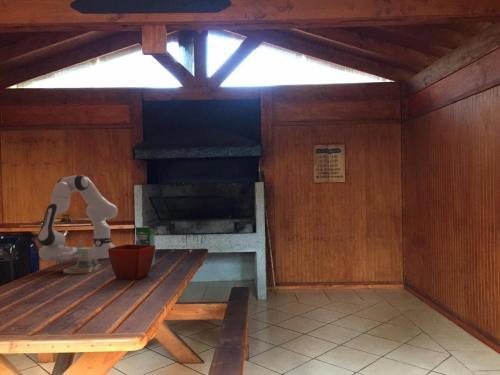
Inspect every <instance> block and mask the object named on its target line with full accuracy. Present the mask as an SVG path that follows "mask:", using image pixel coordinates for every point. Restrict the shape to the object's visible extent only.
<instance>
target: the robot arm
mask: <svg viewBox="0 0 500 375" xmlns="http://www.w3.org/2000/svg"><path fill="white" fill-rule="evenodd" d="M78 192H79V194H80V195H81V197H82V198H83V200H84V201H85V203H86V204H87V205H88V206H87V207H86V209H85V214H86V215H87V217H88V218H89V219H90V221H91V223H92V227H93V238H92V239H93V240H92V242H93V244H92V246H91V248H92V253H93V258H98V260H102V259H110V258H109V253H108V249H109V248H113V247H117V246H116V245H115V244H113V242H112V241H113V240H114V238H113V237H112V236H111V226H110V225H109V224H108V223H107V221H106V220H110V219H114V218H116V217H117V215H118V212H119V211H118V207H117V206H116V205H115V204H114V203H112V202H110V201H109V200H108V199H106V198H105V197H104V196H103V195H102V194H101V192H100V191H99V190H98V188H97V187H96V185H95V184H94V183H93V182H92V181H91V179H90V178H89V177H87V176H86V175H83V174H78V175H69V176H65V177H61V178H59V179H58V180H57V181H56V183H55V185H54V187H53V190H52V194H51V199H50V203H49V205H48V206H47V208H46V210H45V213H44V217H43V221H42V223H41V228H40V230H39V232H38V233H37V242H38V244H39V245H40V246H41V247H40V248H39V250H38V255H39V257H40V260H43V261H47V262H55V261H56V262H57V261H58V262H69V261H70V260H73V259H77V257H82V256H83V254H77V249H78V247H77V246H65V244H66V235H65V234H64V233H63V232H59V231H56V230H54V225H55V221H56V218H57V216H58V215H59V214H62V213H65V212H66V211H68V210H69V207H70V205H71V194H73V193H78Z"/></svg>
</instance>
